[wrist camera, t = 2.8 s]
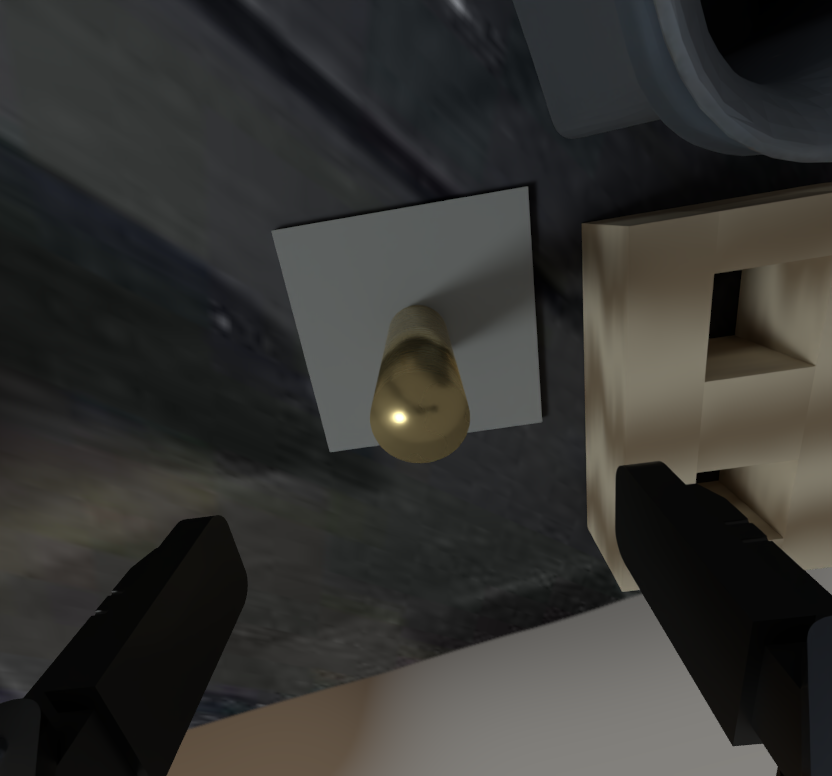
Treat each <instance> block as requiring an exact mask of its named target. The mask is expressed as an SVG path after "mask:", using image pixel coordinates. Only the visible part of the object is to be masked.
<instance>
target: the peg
mask: <svg viewBox="0 0 832 776" xmlns="http://www.w3.org/2000/svg"><path fill="white" fill-rule="evenodd" d="M370 425H371V429H372V433H373V435H374V437H375V439H376V440H377V442H378V443H379V445H380V446H381V447H382V448H383V449H384V450H385V451H386V452H388V453H389V454H391V455H392V456H394V457H396V458H398V459H400V460H403V461H407V462H412V463H428V462H433V461H436V460H439V459H442V458H444V457H446V456H448V455H449V454H451V453H452V452H453V451H455V450H456V449H457V448H458V447H459V446H460V444H461V443H462V442H463V440H464V438H465V437H466V435H467V432H468V429H469V425H470V410H469V406H468V402H467V398H466V395H465V391H464V388H463V384H462V381H461V377H460V373H459V370H458V366H457V363H456V359H455V356H454V352H453V348H452V345H451V341H450V338H449V334H448V331H447V327H446V324H445V322H444V320H443V318H442V317H441V315H440V314H439V313H438V312H437V311H435V310H434V309H432V308H430V307H427V306H424V305H412V306H408V307H406V308H404V309H402V310H401V311H399V312H398V313H397V314H396V315H395V316H394V318H393V319H392V321H391V323H390V326H389V330H388V335H387V339H386V343H385V348H384V352H383V357H382V361H381V366H380V370H379V375H378V379H377V384H376V388H375V393H374V397H373V401H372V406H371V411H370Z"/></svg>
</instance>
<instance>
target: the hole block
mask: <svg viewBox="0 0 832 776" xmlns="http://www.w3.org/2000/svg"><path fill="white" fill-rule="evenodd" d="M582 269H583V320H584V371H585V423H586V474H587V525H588V529H589V531H590V533H591V535H592V537H593V539H594V540H595V542H596V544H597V546H598V548H599V550H600V551H601V553H602V555H603V557H604V559H605V561H606V562H607V564H608V566H609V568H610V570H611V572H612V573H613V575H614V577H615V579H616V581H617V583H618V584H619V586H620V588H621V590H622V592H625V591H633V590H640V589H639V587H638V585H637V584H636V582H635V580H634V579H633V577H632V575H631V574H630V572H629V570H628V569H627V567H626V565H625V563H624V562H623V559H622V557H621V555H620V552H619V549H618V545H617V541H616V534H615V484H616V471H617V468H618V467H619V466H622V465H629V464H637V463H645V462H653V461H661V462H663V463H665V464H666V465H667V466H668V467H669V468H670V469H671V470H672V471H673V472H674V473H675V474H676V475H677V476H678V477H679V478H680V479H681V480H682V481H683V482H684V483H685V484H695V483H696V473H700V472H707V471H715V470H720V473H719V481H711V482H704V483H697V484H699V485H701V486H703V487H705V488H707V489H709V490H710V491H712V492H714V493H716V494H718V495H720V496H722V497H724V498H726V499H727V500H728V501H729V502H730V503H731V504H733V505H734V506H735V507H736V508H737V509H738V510H739V511H740V512H741V513H742V514H744V515H745V516H746V517H747V518H748V521H749V523H753V524H754V525H756V526H757V527H758V528H759V529H760V530H761V531H762V532H763V533H764V534H765V535H766V536H767V539H768V540H769V541H773V542H774V543H775V544H776V545H777V546H778V547H780V548H781V549H782V550H783V551H784V552H785V553H786V554H787V555H788V556H789V557H791V558H792V559H793V560H794V561H795V562H796V563H797V564H798V565H799V566H800V567H801V568H803V569H804V570H811V569H819V568H828V567H832V182H830V183H820V184H814V185H808V186H802V187H796V188H790V189H784V190H778V191H772V192H766V193H760V194H754V195H748V196H742V197H736V198H730V199H724V200H718V201H712V202H706V203H700V204H694V205H688V206H682V207H676V208H670V209H664V210H658V211H652V212H647V213H641V214H635V215H629V216H623V217H617V218H611V219H605V220H599V221H593V222H587V223H582ZM736 270H742V274H741V283H740V292H739V301H738V310H737V319H736V328H735V335H732V336H725V337H718V338H712V339H708V338H709V326H710V315H711V304H712V292H713V281H714V274H716V273H723V272H729V271H736Z"/></svg>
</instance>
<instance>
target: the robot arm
mask: <svg viewBox="0 0 832 776" xmlns="http://www.w3.org/2000/svg"><path fill="white" fill-rule="evenodd" d="M615 534H616V541H617V545H618V549H619V552H620V555H621V557H622V559H623V562H624V563H625V565H626V567H627V569H628V570H629V572H630V574H631V575H632V577H633V579H634V580H635V582H636V584H637V585H638V587H639V589H640V591H641V592H642V594H643V596H644V597H645V599H646V601H647V602H648V604H649V606H650V607H651V609H652V611H653V612H654V614H655V616H656V617H657V619H658V621H659V622H660V624H661V626H662V627H663V629H664V631H665V633H666V634H667V636H668V638H669V639H670V641H671V643H672V644H673V646H674V648H675V650H676V651H677V653H678V655H679V656H680V658H681V660H682V661H683V663H684V665H685V666H686V668H687V670H688V671H689V673H690V675H691V676H692V678H693V680H694V682H695V683H696V685H697V686H698V688H699V690H700V692H701V693H702V695H703V697H704V698H705V700H706V702H707V703H708V705H709V707H710V708H711V710H712V712H713V714H714V715H715V717H716V719H717V720H718V722H719V724H720V725H721V727H722V729H723V731H724V732H725V734H726V736H727V737H728V739H729V741H730V742H731V744H732V746H739V745H740V746H741V745H752V744H764V746H765V747H766V749H767V750H768V752H769V753H770V755H771V756H772V758H773V760H774V761H775V763H776V764H777V766H778V768H777V773H776V776H832V595H831V594H830V593H829V592H828V591H826V590H825V589H824V588H823V587H822V586H821V585H820V584H819V583H818V582H817V581H816V580H814V579H813V578H812V577H811V576H810V575H809V574H808V573H807V572H806V571H805V570H804V569H803V568H801V567H800V566H799V565H798V564H797V563H796V562H795V561H794V560H793V559H792V558H791V557H789V556H788V555H787V554H786V553H785V552H784V551H783V550H782V549H781V548H780V547H778V546H777V545H776V544H775V543H774V542H773V541H769V540H768V539H767V536H766V535H765V534H764V533H763V532H762V531H761V530H760V529H759V528H758V527H757V526H756V525H754V524H753V523H749V521H748V518H747V517H746V516H745V515H744V514H742V513H741V512H740V511H739V510H738V509H737V508H736V507H735V506H734V505H733V504H731V503H730V502H729V501H728V500H727V499H726V498H724V497H722V496H720V495H718V494H716V493H714V492H712V491H710V490H709V489H707V488H705V487H703V486H701V485H699V484H697V483H695V484H685V483H684V482H683V481H682V480H681V479H680V478H679V477H678V476H677V475H676V474H675V473H674V472H673V471H672V470H671V469H670V468H669V467H668V466H667V465H666V464H665V463H663V462H661V461H653V462H645V463H637V464H629V465H622V466H619V467H618V468H617V471H616V484H615ZM247 587H248V583H247V575H246V571H245V568H244V565H243V563H242V560H241V557H240V555H239V552H238V549H237V547H236V544H235V541H234V539H233V536H232V533H231V531H230V528H229V525H228V523H227V521H226V520H225V518H224V517H222V516H220V515H217V516H209V517H201V518H193V519H185V520H182V521H180V522H179V523H178V524H177V525H176V526H175V527H174V528H173V530H172V531H171V532H170V533H169V535H168V536H167V537H166V538H165V540H164V541H163V542H162V544H161V545H160V546H159V547H158V548H156V549H154V550H153V551H152V552H151V553H149V554H148V555H147V556H146V557H144V558H143V559H142V560H141V561H139V562H138V563H137V564H136V565H134V566H133V567H132V568H131V569H130V570H129V571H128V572H127V573H126V575H125V576H124V577H123V578H122V579H121V581H120V582H119V583H118V584H117V585H116V587H115V588H114V589H113V590H112V595H111V596H107V598H106V599H105V600H104V601H103V602H102V604H101V605H100V606H99V607H98V608H97V610H96V614H95V616H91V617H90V618H89V619H88V621H87V622H86V623H85V624H84V625H83V627H82V628H81V629H80V630H79V631H78V633H77V634H76V635H75V636H74V638H73V639H72V640H71V641H70V642H69V644H68V645H67V646H66V647H65V648H64V650H63V651H62V652H61V653H60V654H59V656H58V657H57V658H56V659H55V661H54V662H53V663H52V664H51V665H50V667H49V668H48V669H47V670H46V671H45V673H44V674H43V675H42V676H41V677H40V679H39V680H38V681H37V682H36V683H35V685H34V686H33V687H32V688H31V690H30V691H29V692H28V693H27V694H26V696H25V697H24V698H21V699H14V700H10V701H7V702H3V703H1V704H0V776H166V775H167V773H168V771H169V769H170V767H171V764H172V762H173V760H174V758H175V756H176V753H177V751H178V749H179V747H180V745H181V742H182V740H183V738H184V736H185V733H186V732H187V729H188V727H189V725H190V723H191V721H192V718H193V716H194V714H195V712H196V710H197V707H198V705H199V703H200V701H201V699H202V696H203V694H204V692H205V690H206V688H207V685H208V683H209V681H210V679H211V677H212V674H213V672H214V670H215V668H216V666H217V663H218V661H219V659H220V657H221V655H222V652H223V650H224V648H225V646H226V644H227V641H228V639H229V637H230V635H231V633H232V630H233V628H234V626H235V624H236V622H237V619H238V617H239V615H240V613H241V611H242V608H243V606H244V604H245V600H246V596H247Z"/></svg>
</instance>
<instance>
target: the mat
mask: <svg viewBox="0 0 832 776" xmlns="http://www.w3.org/2000/svg"><path fill="white" fill-rule="evenodd" d="M271 232H272V235H273V239H274V243H275V247H276V251H277V254H278V258H279V262H280V266H281V269H282V273H283V277H284V281H285V284H286V288H287V292H288V296H289V299H290V303H291V307H292V311H293V315H294V318H295V322H296V326H297V330H298V333H299V337H300V341H301V345H302V348H303V352H304V356H305V360H306V364H307V367H308V371H309V375H310V379H311V382H312V386H313V390H314V394H315V397H316V401H317V405H318V409H319V412H320V416H321V420H322V424H323V428H324V431H325V435H326V439H327V443H328V446H329V450H330V452H334V451H341V450H349V449H356V448H363V447H370V446H377V445H379V443H378V442H377V440H376V439H375V437H374V435H373V433H372V429H371V425H370V411H371V406H372V401H373V397H374V393H375V388H376V384H377V379H378V375H379V370H380V366H381V361H382V357H383V352H384V348H385V343H386V339H387V335H388V330H389V326H390V323H391V321H392V319H393V318H394V316H395V315H396V314H397V313H398V312H399V311H401V310H402V309H404V308H406V307H408V306H412V305H424V306H427V307H430V308H432V309H434V310H435V311H437V312H438V313H439V314H440V315H441V317H442V318H443V320H444V322H445V324H446V327H447V331H448V334H449V338H450V341H451V345H452V348H453V352H454V356H455V359H456V363H457V366H458V370H459V373H460V377H461V381H462V384H463V388H464V391H465V395H466V398H467V402H468V406H469V410H470V425H469V429H468V432H467V433H469V432H476V431H483V430H490V429H497V428H504V427H511V426H518V425H525V424H532V423H539V422H542V411H541V394H540V378H539V361H538V344H537V328H536V311H535V294H534V278H533V261H532V244H531V228H530V211H529V194H528V186H527V187H521V188H515V189H509V190H504V191H498V192H492V193H486V194H481V195H475V196H469V197H463V198H457V199H452V200H446V201H440V202H434V203H429V204H423V205H417V206H411V207H405V208H400V209H394V210H388V211H382V212H377V213H371V214H365V215H359V216H354V217H348V218H342V219H336V220H330V221H325V222H319V223H313V224H307V225H302V226H296V227H290V228H284V229H278V230H273V231H271Z"/></svg>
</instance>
